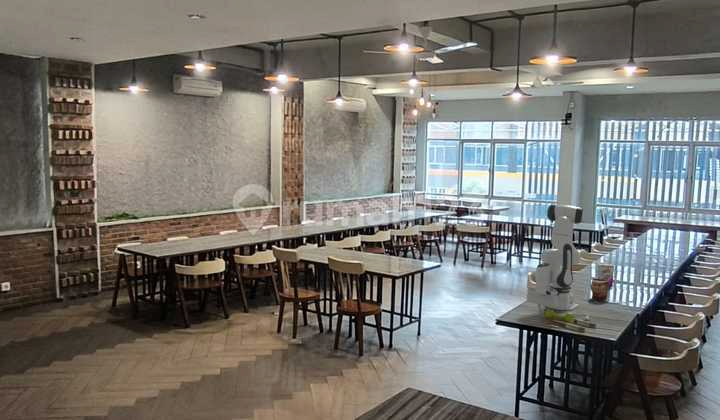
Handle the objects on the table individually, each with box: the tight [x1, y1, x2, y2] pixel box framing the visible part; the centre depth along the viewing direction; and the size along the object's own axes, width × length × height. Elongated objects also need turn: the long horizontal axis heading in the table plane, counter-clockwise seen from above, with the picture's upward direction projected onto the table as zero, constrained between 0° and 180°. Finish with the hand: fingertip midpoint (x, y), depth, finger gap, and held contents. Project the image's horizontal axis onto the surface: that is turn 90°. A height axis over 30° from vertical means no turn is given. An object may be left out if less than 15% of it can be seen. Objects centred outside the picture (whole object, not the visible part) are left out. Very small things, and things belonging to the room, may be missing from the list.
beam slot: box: [542, 317, 597, 333], centre depth 342 cm, size 14×26×2 cm, turn 41°
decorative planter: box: [590, 278, 610, 302], centre depth 404 cm, size 20×12×14 cm, turn 150°
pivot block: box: [582, 315, 591, 322], centre depth 344 cm, size 3×3×4 cm
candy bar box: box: [596, 263, 615, 287], centre depth 446 cm, size 11×5×16 cm, turn 72°
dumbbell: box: [544, 307, 576, 325], centre depth 346 cm, size 16×8×7 cm, turn 49°
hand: (541, 311), depth 355 cm, fingers closed
